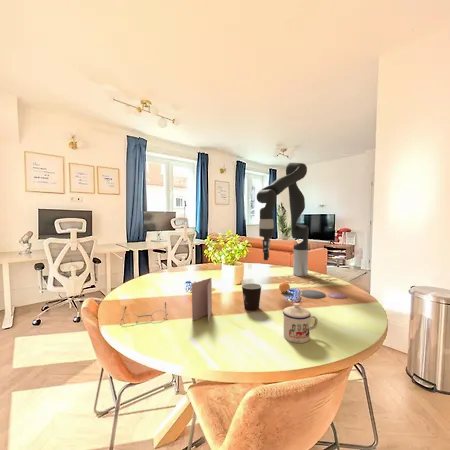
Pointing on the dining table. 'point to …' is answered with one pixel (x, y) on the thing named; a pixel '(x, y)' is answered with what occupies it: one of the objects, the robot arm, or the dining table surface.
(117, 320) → the dining table surface
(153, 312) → the eyeglasses
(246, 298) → the coffee mug
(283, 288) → the ball
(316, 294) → the disc
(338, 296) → the disc
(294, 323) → the teacup with lid
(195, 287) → the greeting card
